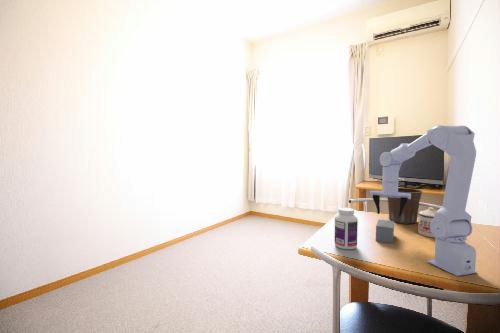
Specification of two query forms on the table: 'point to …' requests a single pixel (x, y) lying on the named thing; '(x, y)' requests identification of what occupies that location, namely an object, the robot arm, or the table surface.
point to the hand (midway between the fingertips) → (389, 214)
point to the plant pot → (405, 207)
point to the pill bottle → (346, 229)
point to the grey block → (385, 231)
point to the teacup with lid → (426, 221)
